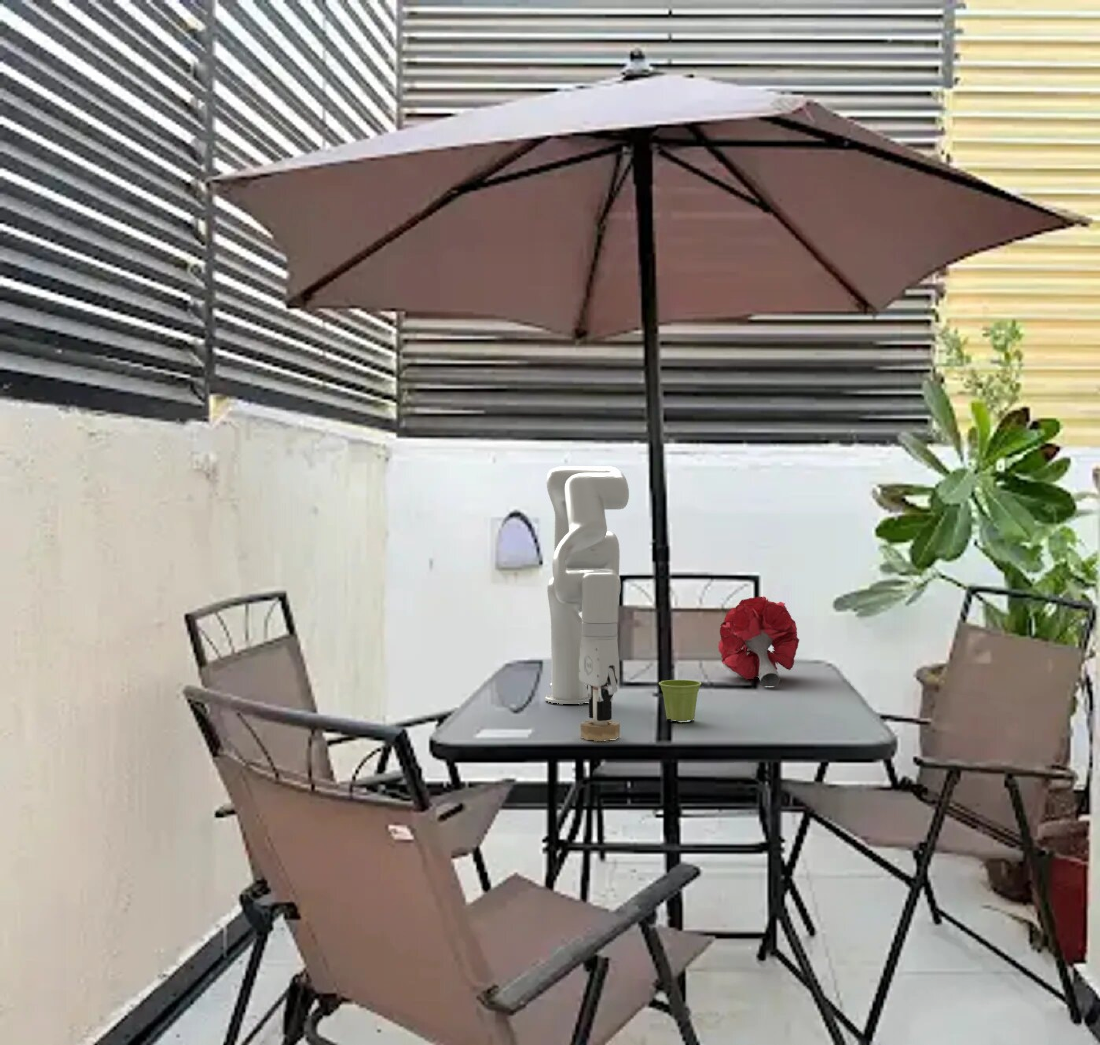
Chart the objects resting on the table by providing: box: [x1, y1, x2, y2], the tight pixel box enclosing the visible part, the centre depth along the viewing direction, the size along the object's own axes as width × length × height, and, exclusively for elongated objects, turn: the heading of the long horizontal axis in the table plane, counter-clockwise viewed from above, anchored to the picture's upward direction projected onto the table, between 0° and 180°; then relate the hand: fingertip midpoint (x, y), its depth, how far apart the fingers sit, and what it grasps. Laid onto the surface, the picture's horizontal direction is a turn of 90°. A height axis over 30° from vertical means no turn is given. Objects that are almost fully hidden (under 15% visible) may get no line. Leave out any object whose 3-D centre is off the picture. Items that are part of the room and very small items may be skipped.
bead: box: [580, 720, 621, 742], centre depth 249 cm, size 8×8×3 cm
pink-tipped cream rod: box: [592, 683, 609, 726], centre depth 249 cm, size 3×3×10 cm
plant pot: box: [658, 679, 702, 721], centre depth 268 cm, size 9×9×9 cm
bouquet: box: [717, 596, 800, 687], centre depth 326 cm, size 22×24×30 cm
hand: (600, 718), depth 249 cm, fingers closed on pink-tipped cream rod, 2 cm apart
